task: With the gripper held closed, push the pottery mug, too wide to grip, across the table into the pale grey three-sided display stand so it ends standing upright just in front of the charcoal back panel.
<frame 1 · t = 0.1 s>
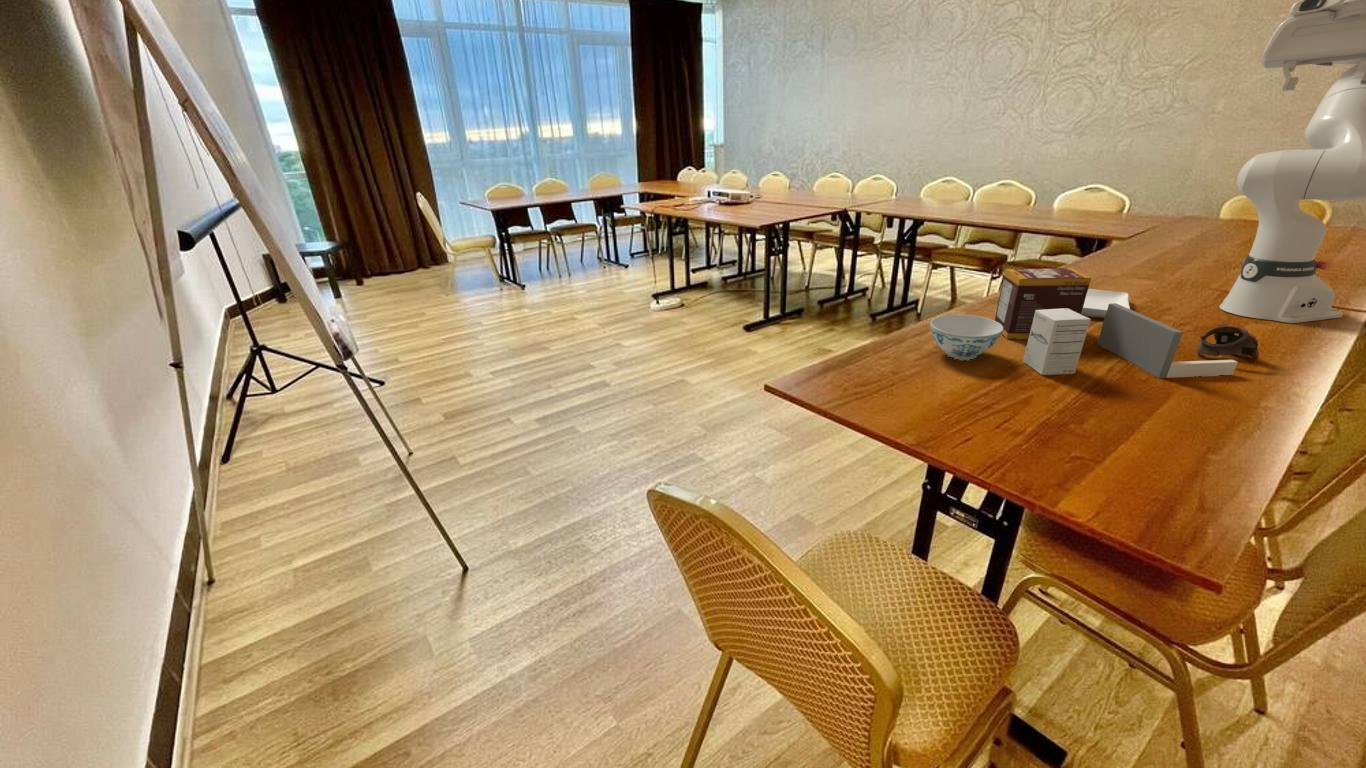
hand: (1325, 86, 94), 52 cm above the table, tool tilted 20°, fingers open, 8 cm apart
pottery mug: (1222, 357, 114), on the table
salad plate: (1078, 309, 148), on the table
chinaware: (960, 355, 124), on the table
display stand: (1159, 358, 115), on the table
supplement box: (1032, 333, 134), on the table
supplement box 2: (1047, 368, 115), on the table
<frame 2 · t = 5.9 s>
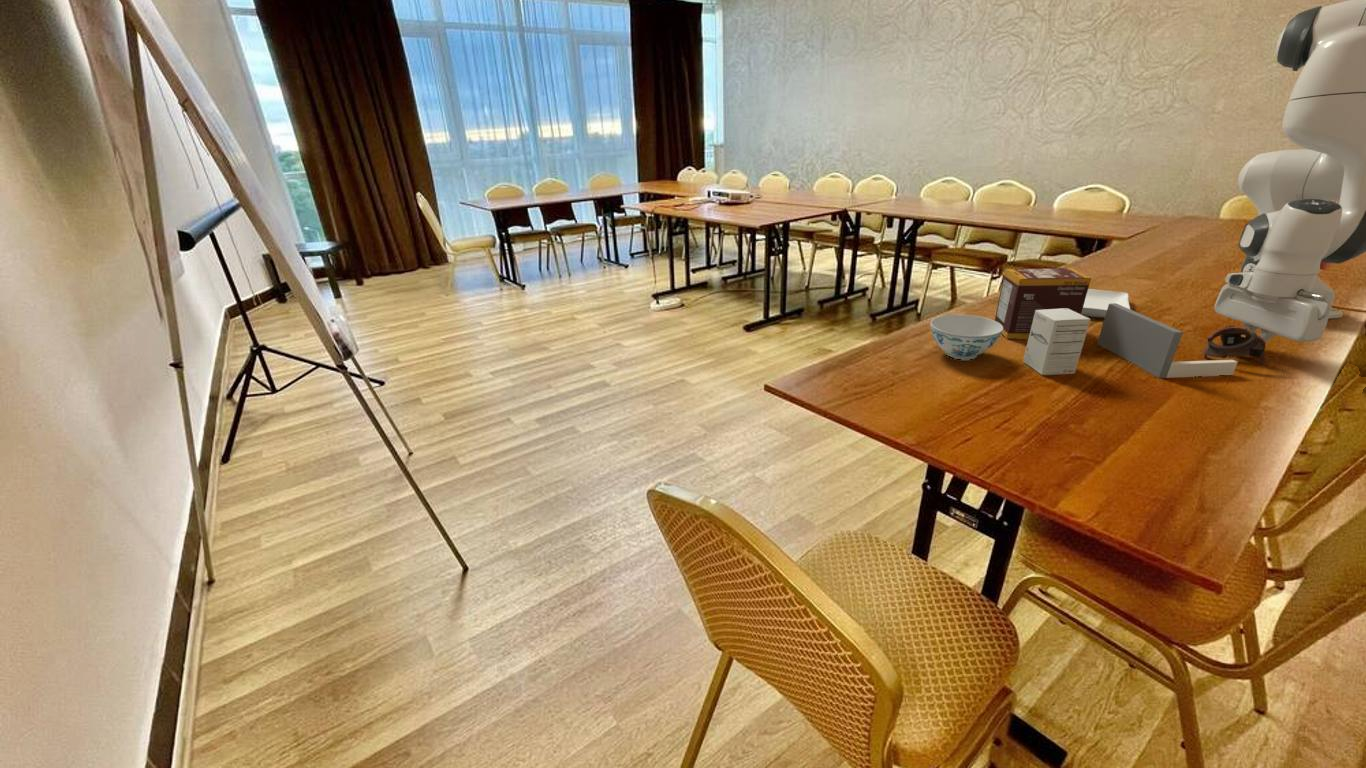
hand: (1252, 346, 112), 2 cm above the table, tool pointing down, fingers closed
pottery mug: (1229, 359, 113), on the table, touching gripper
everything else where it was.
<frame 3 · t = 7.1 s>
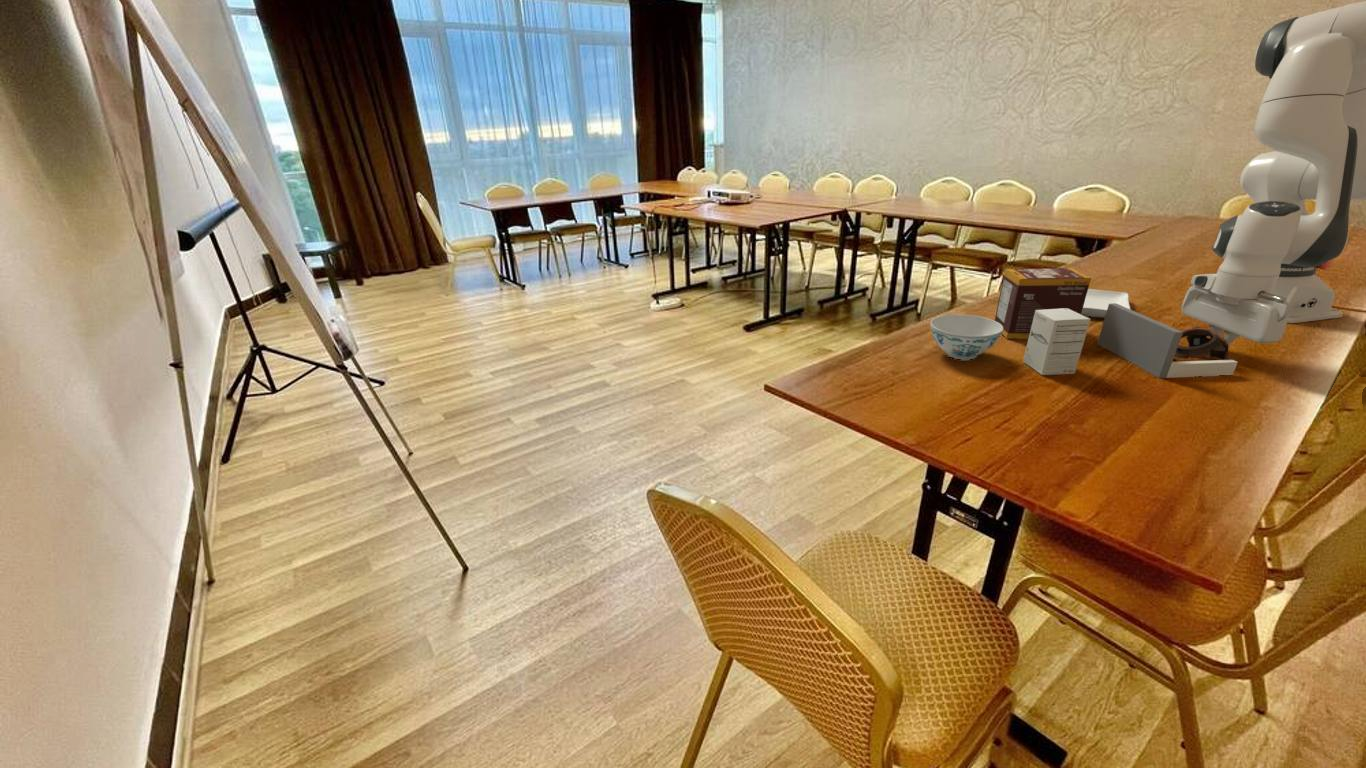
hand: (1217, 347, 113), 2 cm above the table, tool pointing down, fingers closed
pottery mug: (1194, 360, 113), on the table, touching gripper
everything else where it was.
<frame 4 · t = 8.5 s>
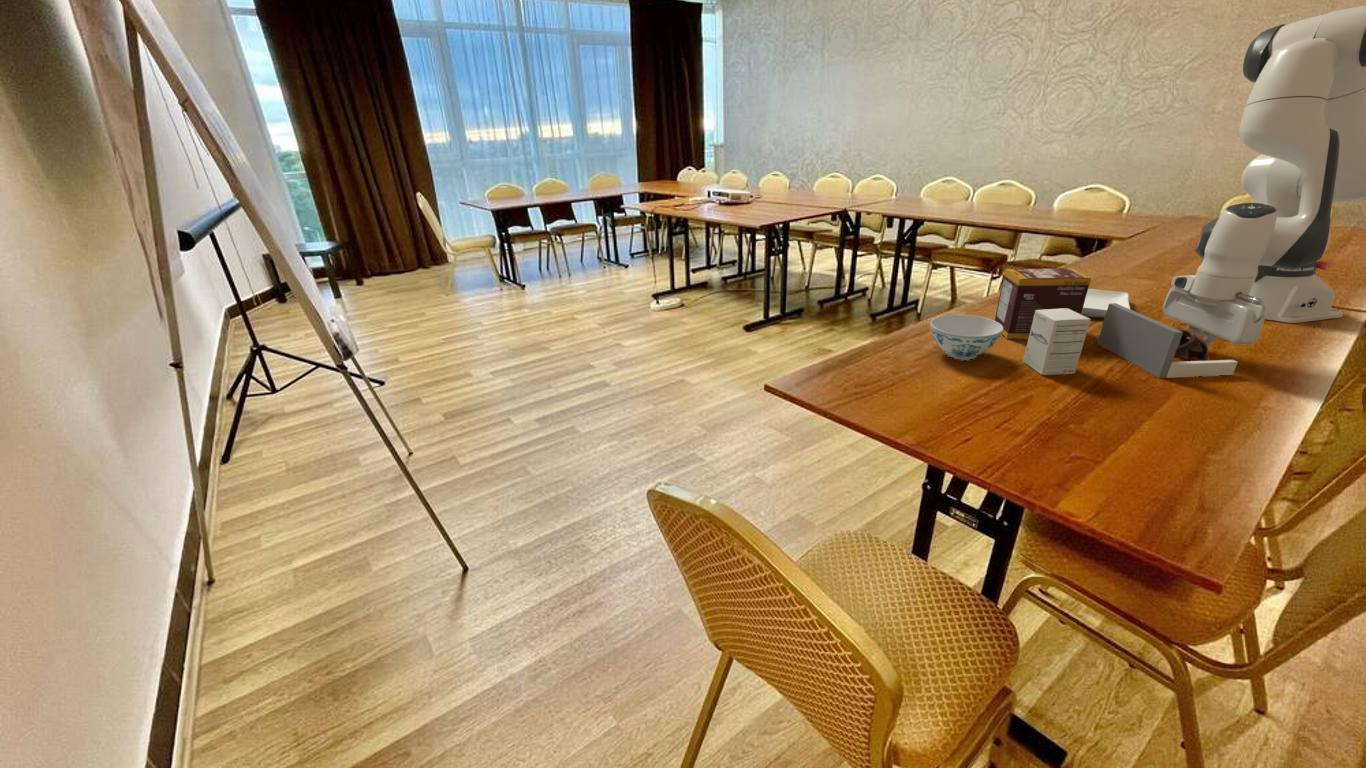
hand: (1197, 348, 114), 2 cm above the table, tool pointing down, fingers closed
pottery mug: (1174, 361, 114), on the table, touching gripper
everything else where it was.
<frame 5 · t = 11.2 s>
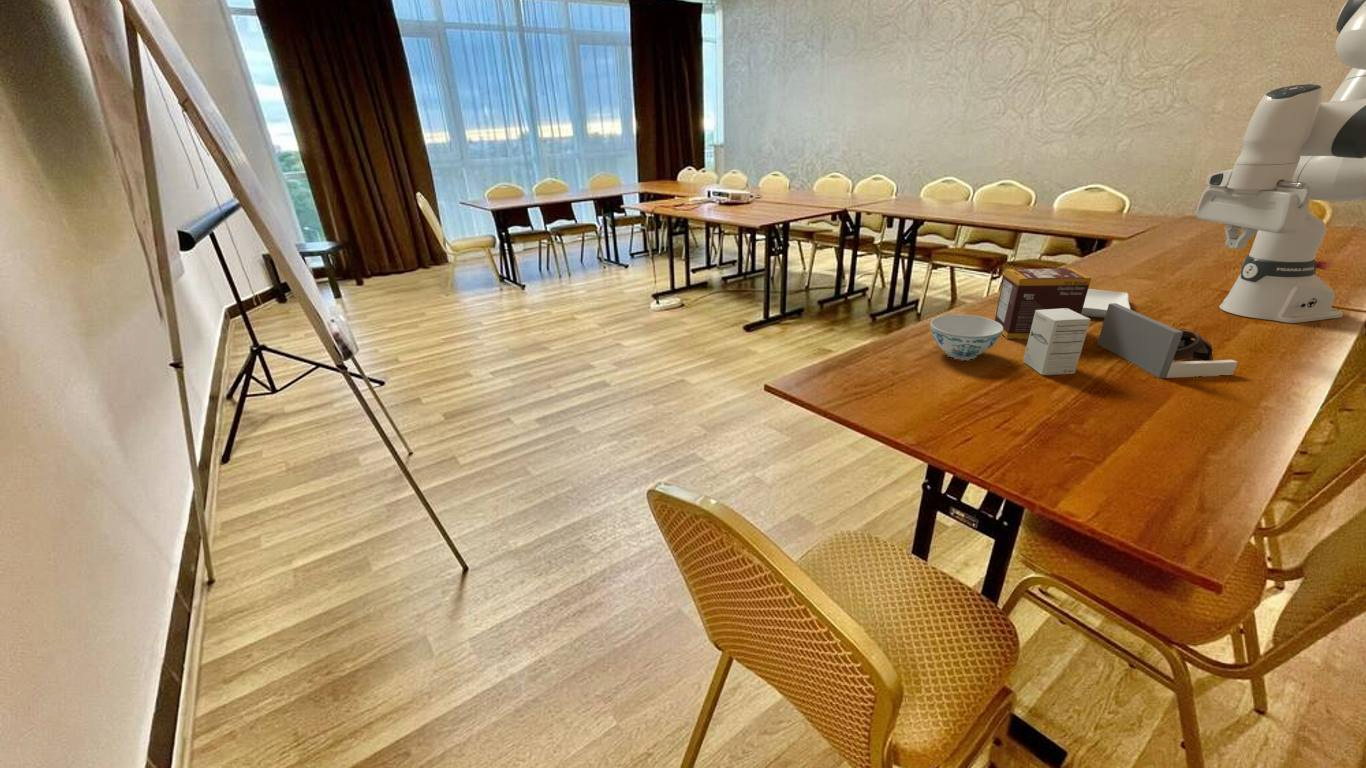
hand: (1234, 247, 110), 22 cm above the table, tool pointing down, fingers closed
pottery mug: (1178, 362, 113), on the table
everything else where it was.
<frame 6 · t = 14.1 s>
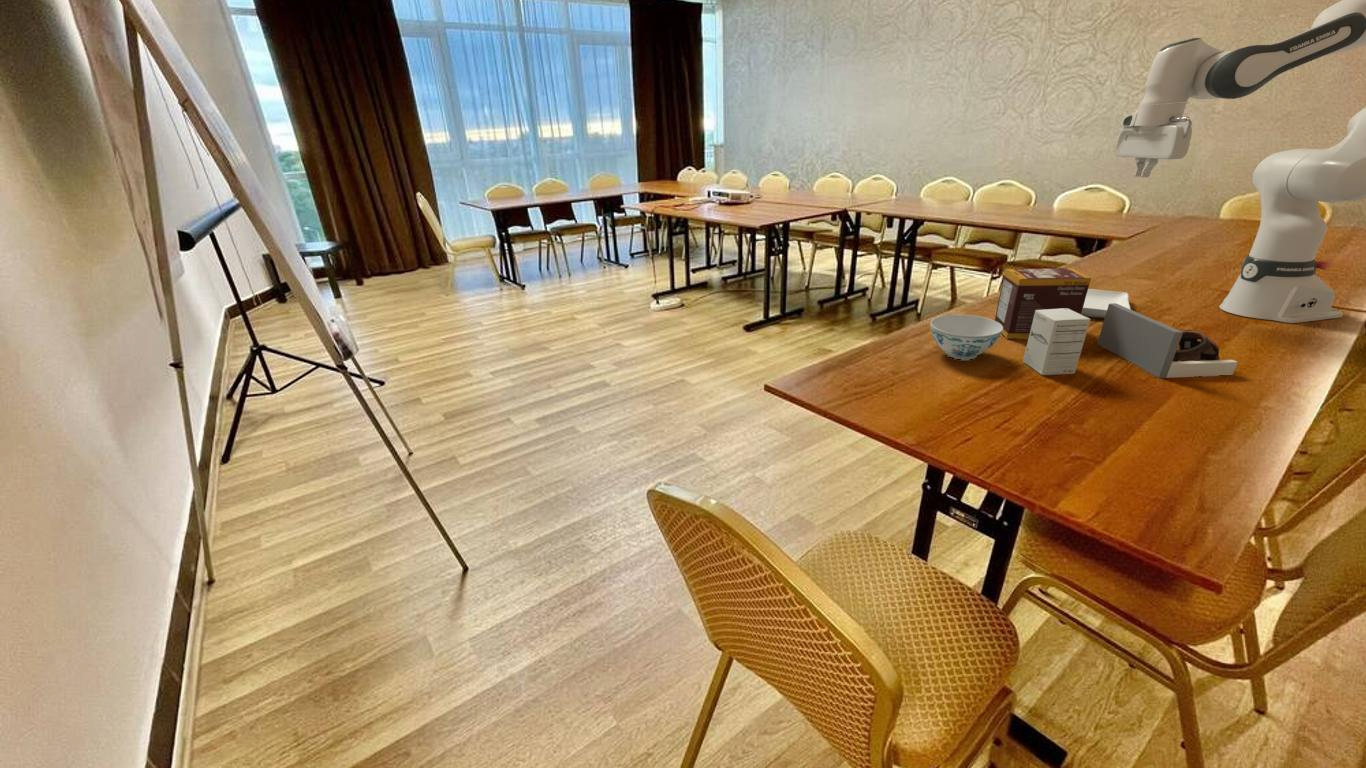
hand: (1141, 177, 134), 34 cm above the table, tool pointing down, fingers closed
pottery mug: (1185, 363, 113), on the table
everything else where it was.
at the end: pottery mug inside the target area on the display stand (4.6 cm from its centre), point 0.0 cm above the display stand's base; pottery mug tilted 1°; pottery mug moved 9.7 cm from its start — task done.
